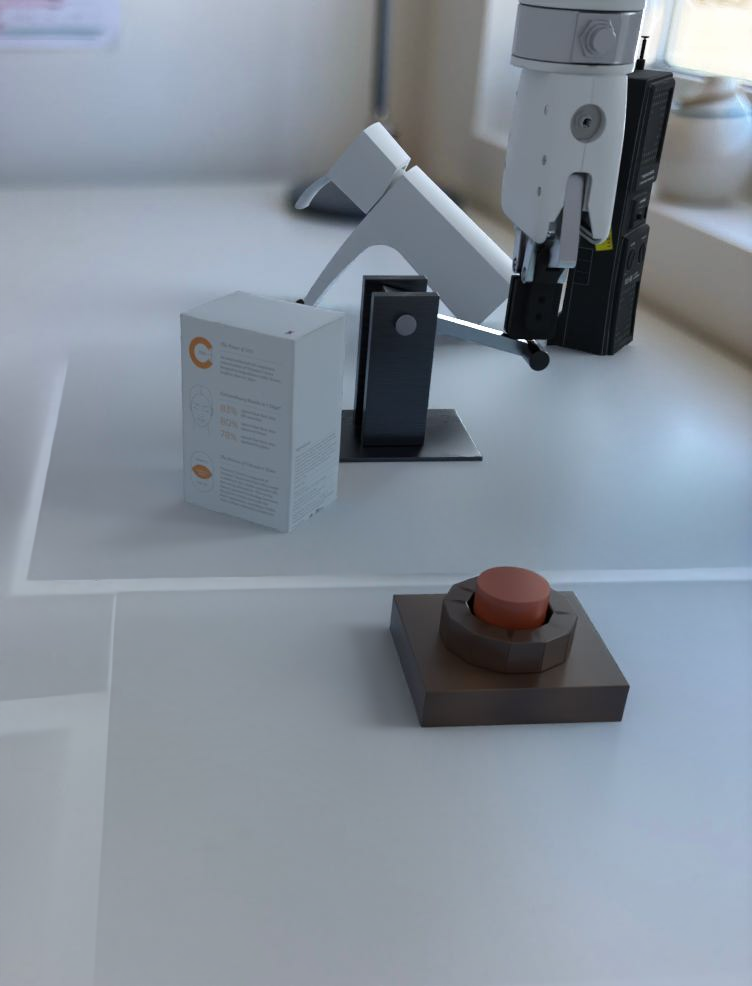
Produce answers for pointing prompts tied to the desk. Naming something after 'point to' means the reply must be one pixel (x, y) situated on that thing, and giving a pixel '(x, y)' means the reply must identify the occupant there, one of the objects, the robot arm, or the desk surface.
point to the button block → (504, 664)
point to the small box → (262, 407)
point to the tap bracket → (399, 381)
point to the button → (511, 598)
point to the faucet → (412, 228)
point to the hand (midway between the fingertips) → (528, 335)
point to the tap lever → (490, 338)
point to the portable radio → (619, 228)
